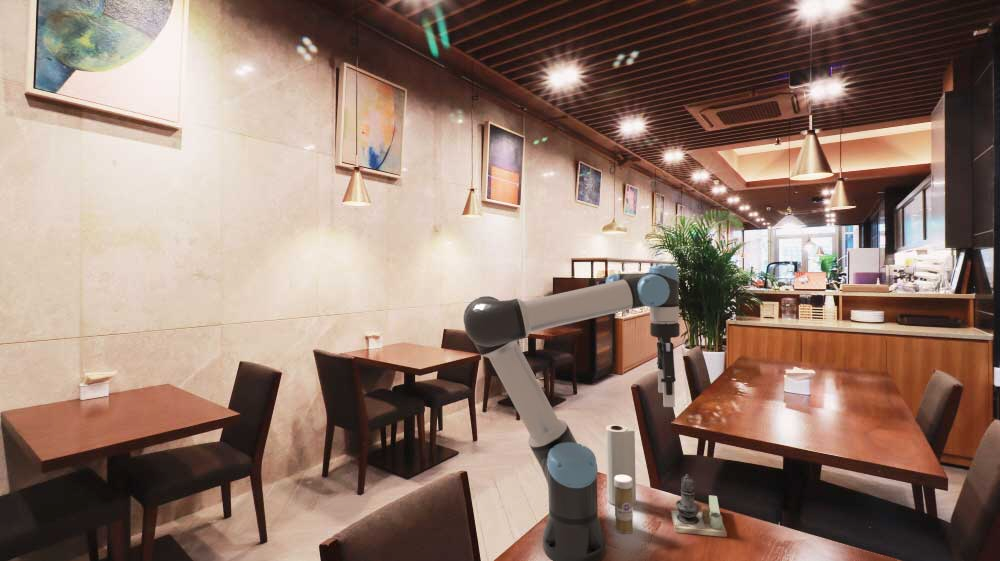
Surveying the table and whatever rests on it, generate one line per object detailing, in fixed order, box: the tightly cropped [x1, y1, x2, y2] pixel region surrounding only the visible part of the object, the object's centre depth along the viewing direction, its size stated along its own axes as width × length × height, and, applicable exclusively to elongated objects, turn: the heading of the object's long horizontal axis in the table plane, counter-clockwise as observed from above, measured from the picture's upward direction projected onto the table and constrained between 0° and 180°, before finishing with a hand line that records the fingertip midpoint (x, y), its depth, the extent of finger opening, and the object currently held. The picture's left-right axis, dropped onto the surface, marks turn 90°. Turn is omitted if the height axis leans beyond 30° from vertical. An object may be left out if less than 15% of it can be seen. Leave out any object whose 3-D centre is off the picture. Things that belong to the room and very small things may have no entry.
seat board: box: [670, 505, 728, 538], centre depth 122 cm, size 12×9×4 cm
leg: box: [708, 494, 723, 529], centre depth 123 cm, size 12×3×3 cm, turn 159°
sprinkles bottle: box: [614, 475, 634, 534], centre depth 120 cm, size 5×5×14 cm
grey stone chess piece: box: [675, 473, 701, 525], centre depth 122 cm, size 6×6×12 cm
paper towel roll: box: [605, 424, 637, 506], centre depth 134 cm, size 7×6×21 cm
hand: (666, 399), depth 128 cm, fingers open, 13 cm apart
